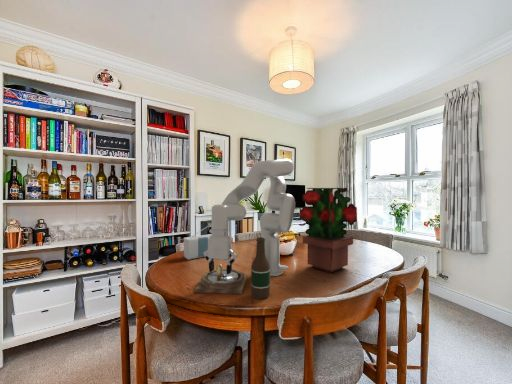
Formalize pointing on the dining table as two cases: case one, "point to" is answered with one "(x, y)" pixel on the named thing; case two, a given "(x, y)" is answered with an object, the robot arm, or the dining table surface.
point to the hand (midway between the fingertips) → (220, 271)
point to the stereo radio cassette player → (196, 246)
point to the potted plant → (327, 227)
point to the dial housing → (222, 284)
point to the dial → (222, 276)
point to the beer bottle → (260, 272)
